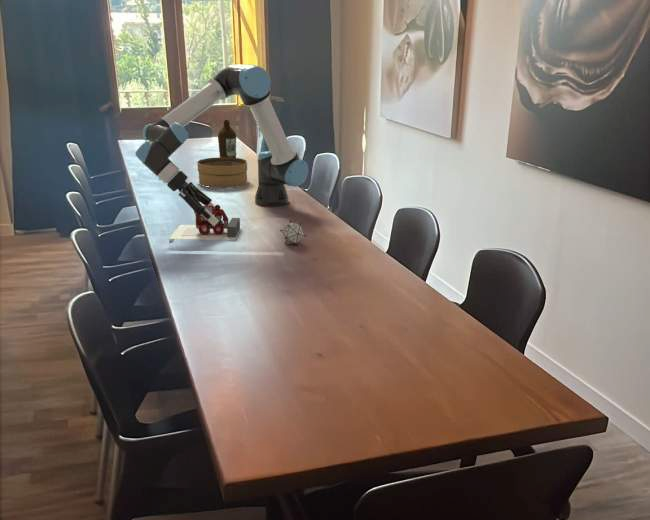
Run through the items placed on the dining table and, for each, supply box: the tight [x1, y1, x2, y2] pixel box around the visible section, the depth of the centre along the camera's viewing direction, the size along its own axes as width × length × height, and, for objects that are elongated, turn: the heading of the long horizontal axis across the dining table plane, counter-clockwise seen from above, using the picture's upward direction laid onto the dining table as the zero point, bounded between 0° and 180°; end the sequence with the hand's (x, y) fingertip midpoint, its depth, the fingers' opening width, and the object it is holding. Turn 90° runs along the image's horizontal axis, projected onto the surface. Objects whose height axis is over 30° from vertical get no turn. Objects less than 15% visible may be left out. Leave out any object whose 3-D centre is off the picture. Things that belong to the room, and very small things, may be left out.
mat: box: [168, 224, 242, 243], centre depth 234 cm, size 24×18×1 cm
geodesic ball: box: [279, 220, 307, 247], centre depth 224 cm, size 9×8×10 cm
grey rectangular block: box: [227, 217, 241, 238], centre depth 233 cm, size 3×12×4 cm, turn 179°
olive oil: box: [217, 118, 237, 158], centre depth 364 cm, size 11×11×25 cm
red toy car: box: [193, 204, 229, 235], centre depth 232 cm, size 7×12×10 cm, turn 100°
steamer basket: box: [196, 156, 248, 188], centre depth 315 cm, size 25×25×11 cm
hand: (218, 220), depth 232 cm, fingers open, 9 cm apart
